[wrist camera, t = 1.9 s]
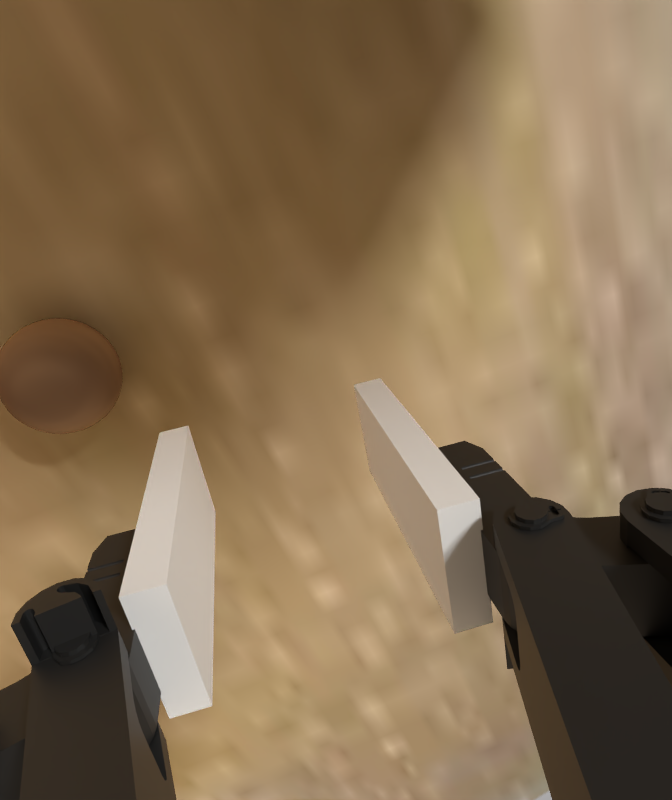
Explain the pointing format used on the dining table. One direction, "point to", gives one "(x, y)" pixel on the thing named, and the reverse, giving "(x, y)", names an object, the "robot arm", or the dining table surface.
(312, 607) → the dining table surface
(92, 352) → the brown ball
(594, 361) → the dining table surface
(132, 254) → the dining table surface
